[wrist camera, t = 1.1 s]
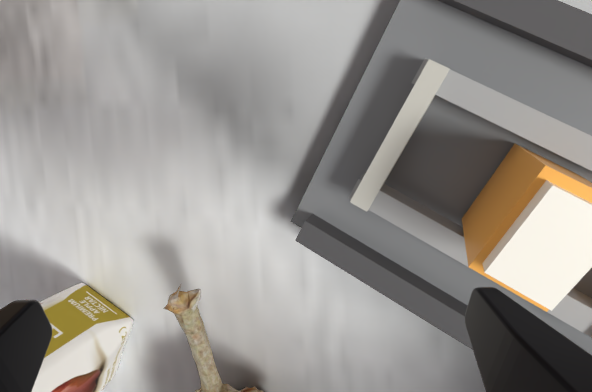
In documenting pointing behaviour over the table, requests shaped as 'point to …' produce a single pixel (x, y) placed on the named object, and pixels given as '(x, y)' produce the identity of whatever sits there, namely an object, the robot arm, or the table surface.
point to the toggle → (531, 228)
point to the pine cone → (199, 340)
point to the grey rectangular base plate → (386, 273)
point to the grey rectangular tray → (450, 144)
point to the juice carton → (82, 341)
